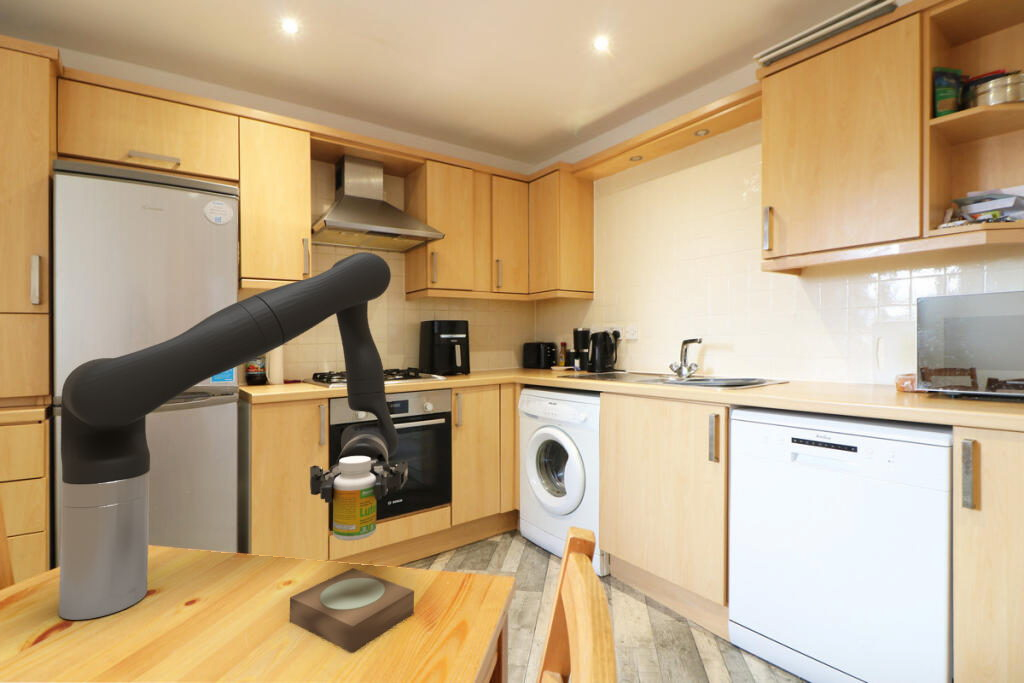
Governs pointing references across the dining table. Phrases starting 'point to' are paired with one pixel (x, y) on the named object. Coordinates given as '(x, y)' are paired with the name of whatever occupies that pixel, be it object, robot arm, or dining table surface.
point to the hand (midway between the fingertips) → (353, 493)
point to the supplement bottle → (354, 499)
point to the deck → (351, 608)
